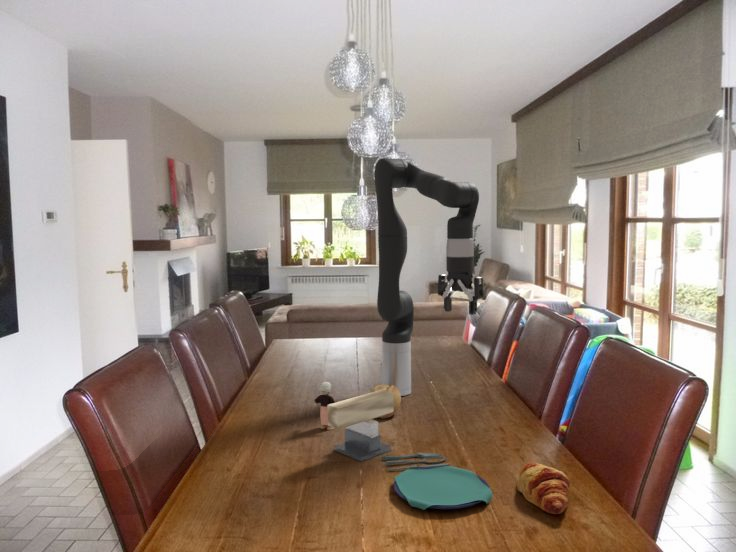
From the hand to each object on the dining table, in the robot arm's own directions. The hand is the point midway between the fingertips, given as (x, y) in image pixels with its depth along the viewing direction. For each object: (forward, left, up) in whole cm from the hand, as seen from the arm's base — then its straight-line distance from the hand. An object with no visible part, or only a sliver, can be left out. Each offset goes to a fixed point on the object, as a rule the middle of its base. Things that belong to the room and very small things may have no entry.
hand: (460, 312), depth 168 cm
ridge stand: (-2, -36, -30) cm, 47 cm away
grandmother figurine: (-21, -32, -30) cm, 49 cm away
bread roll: (-19, -11, -30) cm, 38 cm away
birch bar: (-2, -36, -22) cm, 42 cm away
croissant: (+42, -26, -31) cm, 58 cm away
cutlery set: (+22, -37, -31) cm, 53 cm away
